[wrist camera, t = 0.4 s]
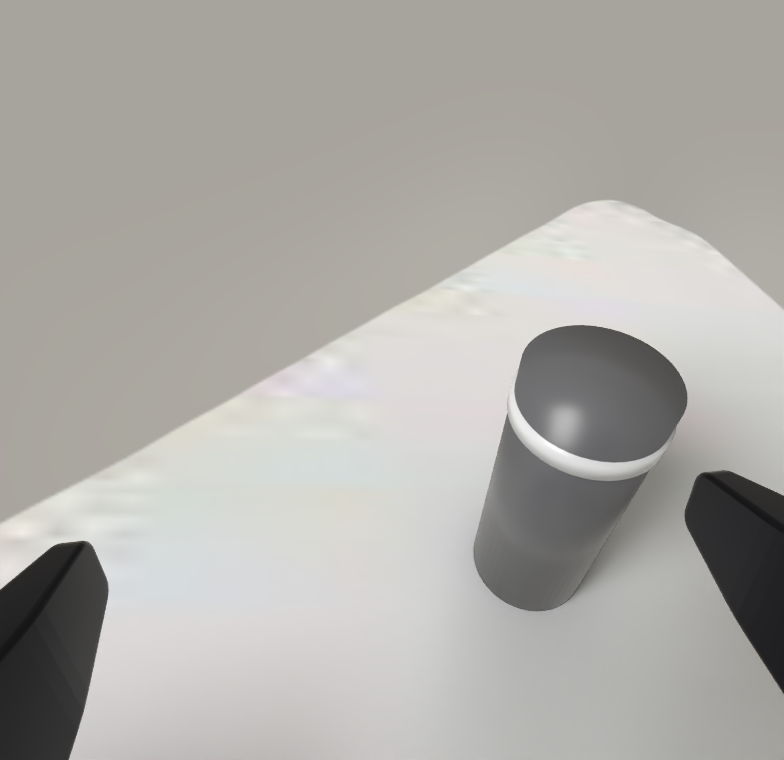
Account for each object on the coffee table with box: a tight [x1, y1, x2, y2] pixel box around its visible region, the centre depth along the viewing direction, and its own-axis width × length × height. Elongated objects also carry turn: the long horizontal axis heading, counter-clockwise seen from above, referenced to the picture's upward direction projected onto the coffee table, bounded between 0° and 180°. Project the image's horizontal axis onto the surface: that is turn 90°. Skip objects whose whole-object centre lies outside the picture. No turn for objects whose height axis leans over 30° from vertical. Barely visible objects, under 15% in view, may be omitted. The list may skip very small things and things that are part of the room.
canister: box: [474, 325, 687, 611], centre depth 21 cm, size 5×5×12 cm
